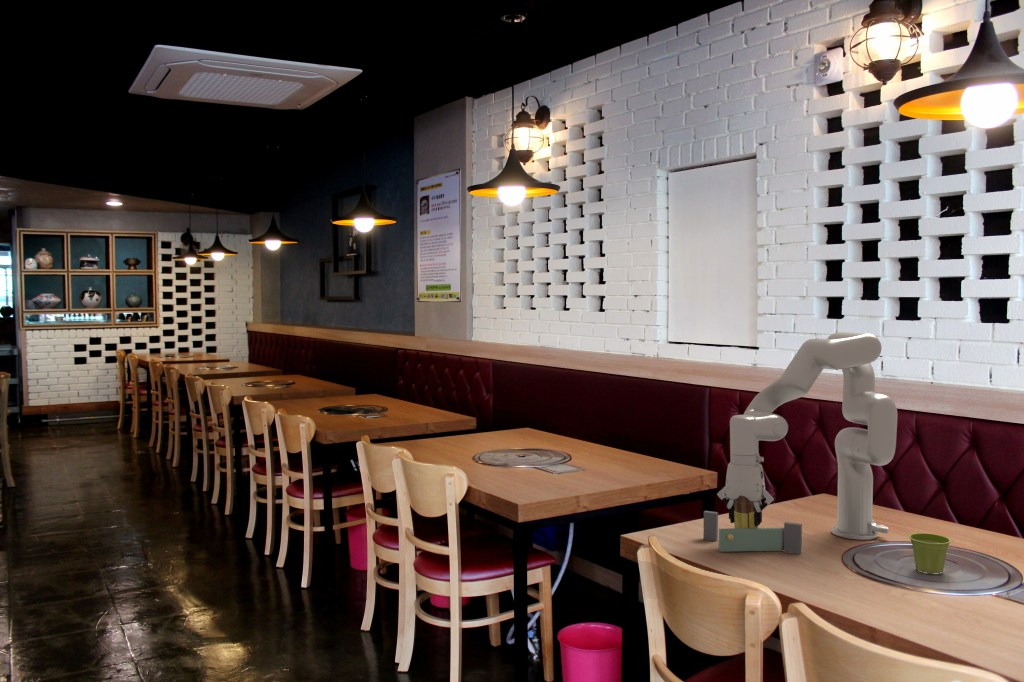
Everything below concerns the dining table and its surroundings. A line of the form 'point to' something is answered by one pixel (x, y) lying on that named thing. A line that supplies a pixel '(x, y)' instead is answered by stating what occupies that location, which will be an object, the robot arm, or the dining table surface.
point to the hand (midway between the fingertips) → (745, 522)
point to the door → (751, 539)
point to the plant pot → (929, 551)
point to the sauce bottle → (744, 513)
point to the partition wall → (790, 532)
